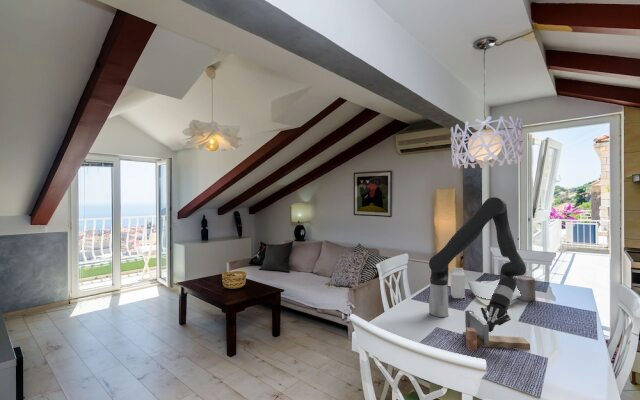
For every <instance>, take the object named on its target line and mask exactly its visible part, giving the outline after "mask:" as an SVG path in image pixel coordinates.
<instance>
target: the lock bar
mask: <svg viewBox="0 0 640 400" xmlns="http://www.w3.org/2000/svg"><path fill="white" fill-rule="evenodd" d="M464 312H465V314H464V315H465V317H464V318H465V321H464V322H465V328H466V327H467V328H474V329H475V330H476V332H477V338H479V339H480V340H481V341H482V342H483V343H484V344H489V336H490V335H489V334H490V332H489V325H488V324H487V322H485V320H483V319H482V318H480V317H479V316H477V315H476V314H475V312H474V311H472V310H465V311H464Z"/></svg>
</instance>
